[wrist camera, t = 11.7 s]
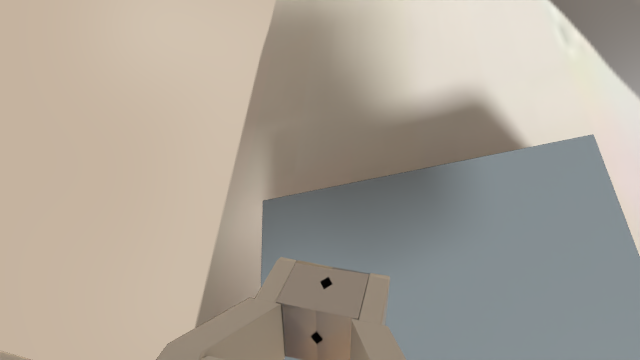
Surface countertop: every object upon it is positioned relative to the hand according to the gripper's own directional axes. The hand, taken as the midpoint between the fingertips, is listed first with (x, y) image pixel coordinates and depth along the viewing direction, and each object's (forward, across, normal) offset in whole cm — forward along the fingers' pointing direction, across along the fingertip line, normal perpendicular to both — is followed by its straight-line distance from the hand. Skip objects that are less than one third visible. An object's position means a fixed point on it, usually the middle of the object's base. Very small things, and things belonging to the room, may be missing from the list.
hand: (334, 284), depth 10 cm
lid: (+11, +3, -8) cm, 13 cm away
